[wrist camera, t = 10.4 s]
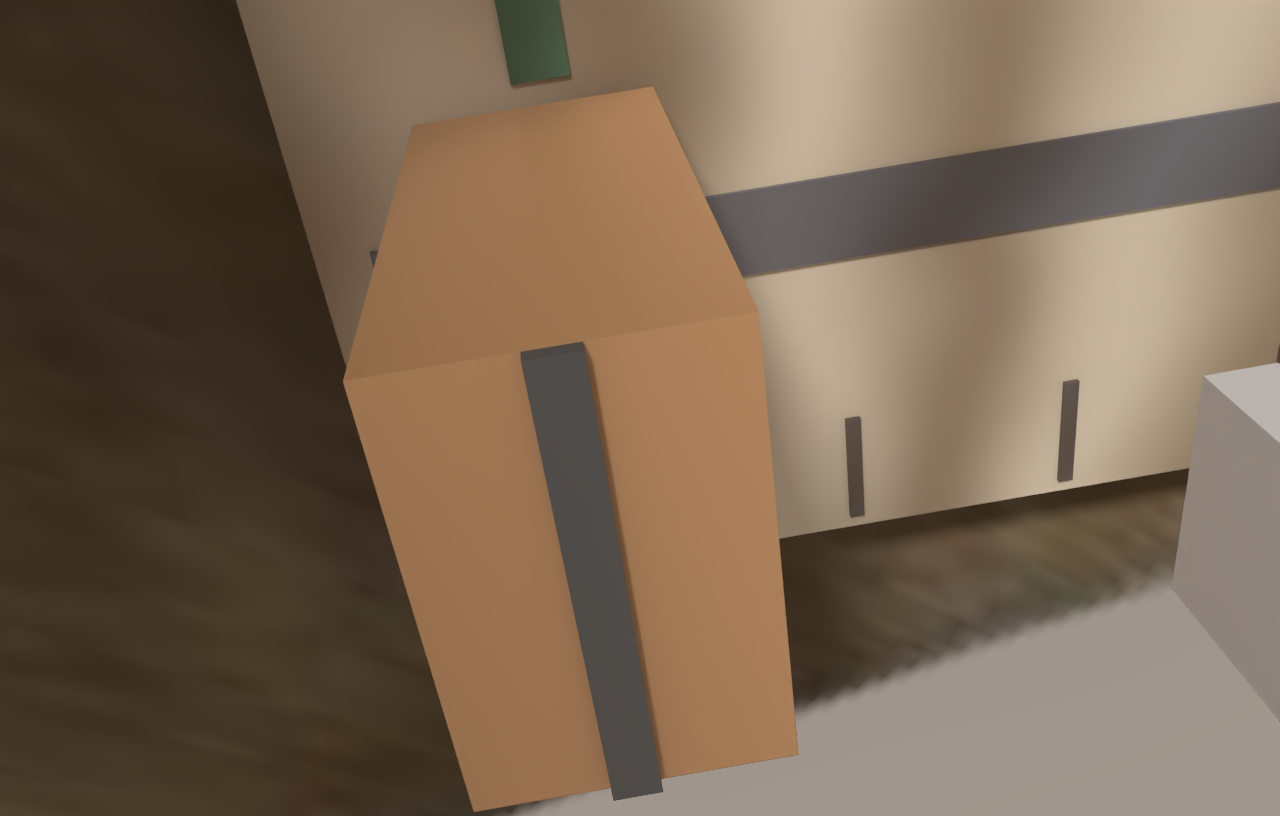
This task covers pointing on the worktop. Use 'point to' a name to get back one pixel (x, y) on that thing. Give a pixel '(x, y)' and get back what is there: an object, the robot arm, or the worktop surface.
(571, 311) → the block
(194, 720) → the worktop surface
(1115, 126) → the fader board
